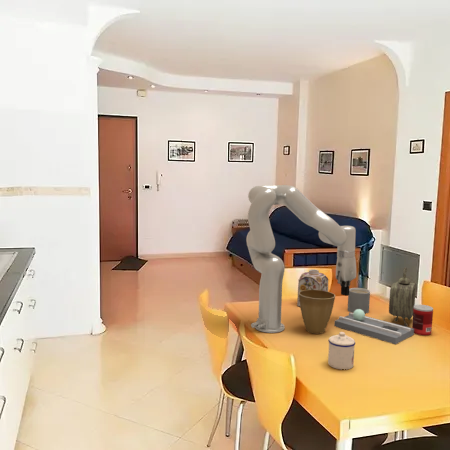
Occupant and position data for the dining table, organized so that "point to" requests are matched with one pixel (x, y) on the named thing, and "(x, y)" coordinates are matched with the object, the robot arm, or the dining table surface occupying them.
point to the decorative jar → (312, 282)
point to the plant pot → (316, 309)
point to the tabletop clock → (402, 298)
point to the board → (375, 328)
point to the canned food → (422, 319)
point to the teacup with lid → (341, 351)
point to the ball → (358, 314)
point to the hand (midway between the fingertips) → (345, 294)
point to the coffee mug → (358, 299)
